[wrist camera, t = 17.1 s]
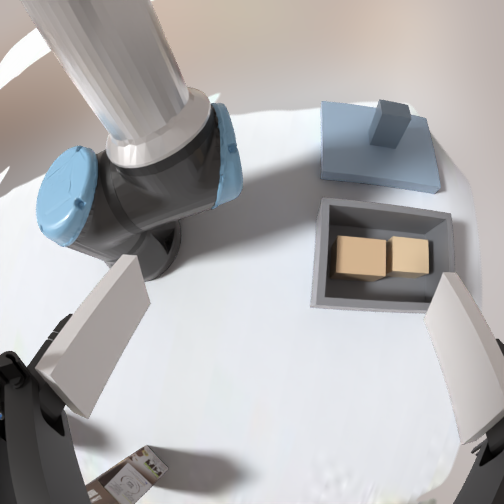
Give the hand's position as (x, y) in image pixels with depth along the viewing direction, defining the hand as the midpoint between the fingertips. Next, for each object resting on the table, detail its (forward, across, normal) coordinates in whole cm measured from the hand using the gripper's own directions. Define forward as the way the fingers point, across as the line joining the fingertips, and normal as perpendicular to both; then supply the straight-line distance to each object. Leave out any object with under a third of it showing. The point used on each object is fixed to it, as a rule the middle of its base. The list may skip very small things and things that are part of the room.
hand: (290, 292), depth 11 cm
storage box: (+28, +14, -17) cm, 36 cm away
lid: (+44, +16, -1) cm, 47 cm away
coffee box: (+1, -23, -46) cm, 52 cm away
